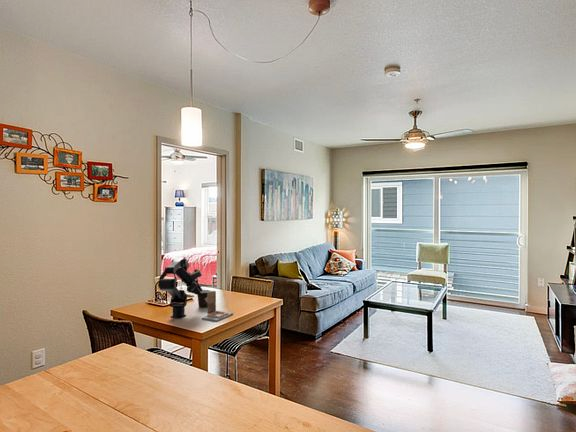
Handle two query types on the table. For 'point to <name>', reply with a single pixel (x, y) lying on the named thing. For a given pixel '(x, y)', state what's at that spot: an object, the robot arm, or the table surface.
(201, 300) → the coffee mug
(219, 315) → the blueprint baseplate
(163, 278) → the robot arm
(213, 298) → the walnut post
